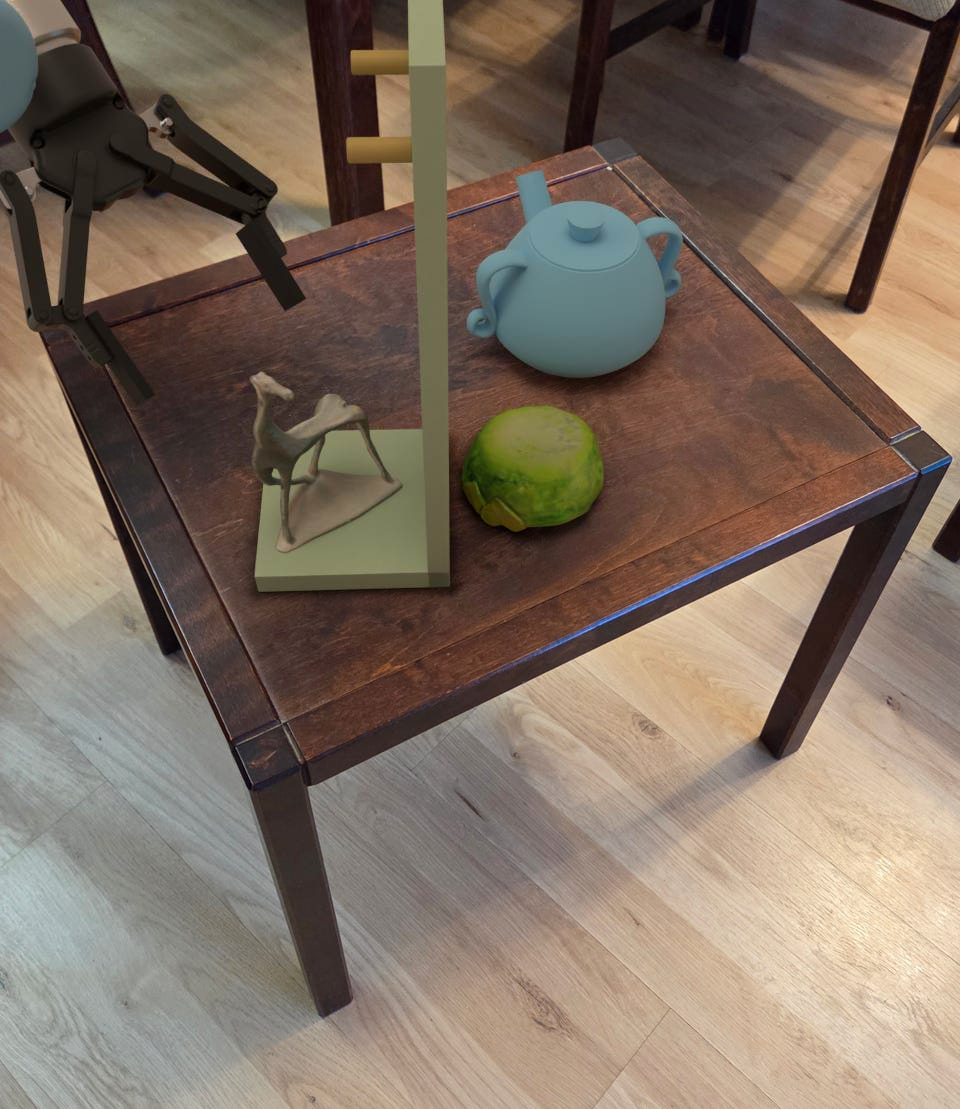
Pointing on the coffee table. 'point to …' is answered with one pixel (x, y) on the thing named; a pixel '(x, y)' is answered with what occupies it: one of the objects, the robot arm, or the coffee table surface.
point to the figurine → (313, 468)
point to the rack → (420, 454)
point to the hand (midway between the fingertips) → (224, 351)
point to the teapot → (576, 285)
